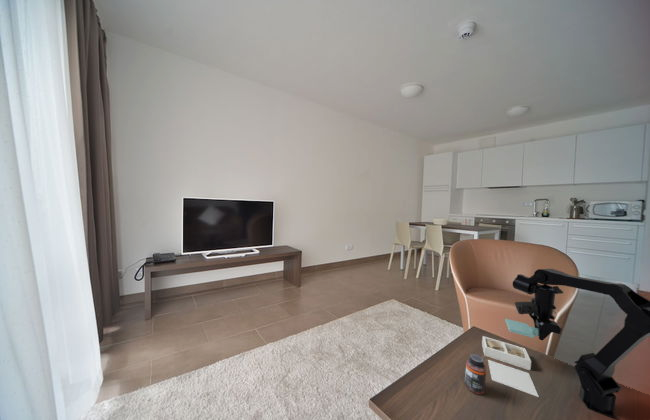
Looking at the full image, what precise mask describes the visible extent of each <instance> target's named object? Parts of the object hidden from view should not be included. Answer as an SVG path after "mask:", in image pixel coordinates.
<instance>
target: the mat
mask: <svg viewBox="0 0 650 420" xmlns="http://www.w3.org/2000/svg"><path fill="white" fill-rule="evenodd" d="M487 364H488V367H489V372H490V377H491V381H493V382H496V383H498V384H501V385H505V386H507V387H510V388H512V389H516V390H518V391H521V392H523V393H526V394H528V395H532V396H534V397H537V398H539V393H538V392H537V390H536V386H535V385H534V382H533V379H532V378H531V375H530V373H529V372H526V371H523V370H521V369H518V368H514V367H512V366H508V365H505V364H502V363H499V362H496V361H494V360H490V359H487Z"/></svg>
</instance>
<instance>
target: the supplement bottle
mask: <svg viewBox="0 0 650 420" xmlns="http://www.w3.org/2000/svg"><path fill="white" fill-rule="evenodd" d="M484 363H485V362H484V358H483V357H481V356H480V355H478V354H475V353H471V354H470V355H469V358H468V359H466V363H465V373H464V374H465V376H464V385H465V387H466V388H467V390H469V391H470V392H472V393H474V394H476V395H483V394H484V393H485V390H486V379H487V366H486V365H485V364H484Z"/></svg>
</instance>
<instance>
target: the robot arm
mask: <svg viewBox="0 0 650 420" xmlns="http://www.w3.org/2000/svg"><path fill="white" fill-rule="evenodd" d="M516 275H517V276H516V277H515V278H514V279H513V281H512V288H513V289H515V290H518V291H520V292H522V293H524V294H527V295H533V294H534V296H533V297H532V298H531V300H530V301H515V302H514V306H515V309H516V311H517V313H518V314H519V315H529V317H530V318H531V319H532V321H533V327H534V328H538V335H539V336H538V339H539V340H540V341H544V340H545V339H547V337H549V335H550V334H552V333H554V334H557V335H562V331H563V330H562V327H561V326H560V325H559V324H558V323H557V322H556V321H554V320H555V316H554V310H556V309H557V306H555V300H556V295H558V294H564V291H563V290H562V289H561V288H560V287H559V286H563V287H570V288H575V289H578V290H579V289H580V290H584V291H588V292H593V293H598V294H602V295H607V296H609V297H611V299H613V301H615V303H616V304H617V306H618V307H619V309H620V310H621V311H623V312H624V313H625V314H626V317H625V318H624V321H623V327H622V329H620V331H618V332H617V333H616V334H615V335H614V336H613V337H612V338H611V339H610V340H609V341H608V342H607V343H606V344H605V345H604V346H602V348H601V349H600V350H599V351H598V352H597V353H594V352H590V353H585V354H580V357H579V358H578V360H576V361H573V362H574V363H575V364H574V370H575V371H576V374H577V375H578V379H579V382H580V388H579V392H578V396H579V398H580V400H581V401H582V403H583V404H584V405H585V406H586V408H587V409H588V410H591V411H593V412H595V413H598V414H601V415H604V416H607V417H610V418H613V419H615V420H617V419H618V416H617V415H616V413H615V406H616V401H617V396H616V395H615V393H619V392H620V391H621V390H622V387H621V386H620V385H619V384H618V383H617V381H616V380H615V378H614V377H613V375H614V373H615V370H616V369H615V367H616V365H617V364H618V363H619V362H621V361H622V360H623V359H624V358H626V356H627V355H629V354H630V353H631V352H632V351H633V350H634V349H636V347H638V346H639V345H640V344H641V343H642V342H643V341H644V340H646V339H647V338H648V337H650V299H648V298H646V297H644V296H642V295H641V294H639V293H637V292H636V291H635V290H633V289H632V288H630V286H628V285H626V284H624V283H620V282H619V283H615V282H611V281H605V280H600V279H599V280H598V279H592V278H587V277H583V276H576V275H571V274H568V273H565V272H563V271H561V270H558V269H554V268H539V269H536V270H534V273H533V275H532V276H530V277H529V276H525V275H524V274H521V273H520V274H516Z"/></svg>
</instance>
